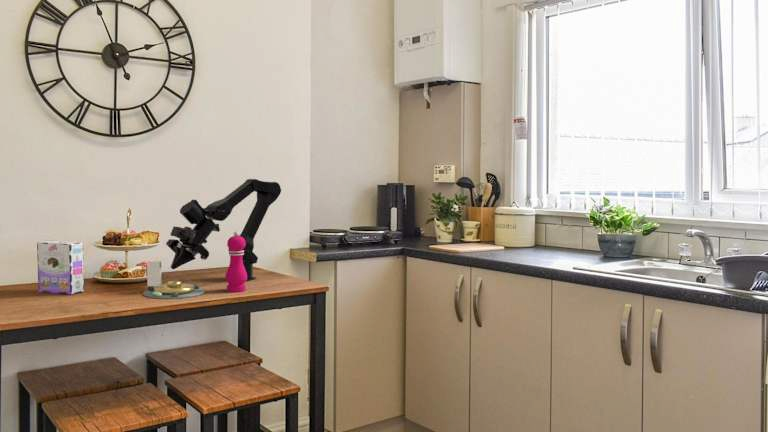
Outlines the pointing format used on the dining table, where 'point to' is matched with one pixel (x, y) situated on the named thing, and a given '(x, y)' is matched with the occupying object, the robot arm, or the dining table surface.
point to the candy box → (60, 267)
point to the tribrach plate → (173, 293)
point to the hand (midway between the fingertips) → (172, 268)
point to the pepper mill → (236, 264)
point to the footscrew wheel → (171, 286)
